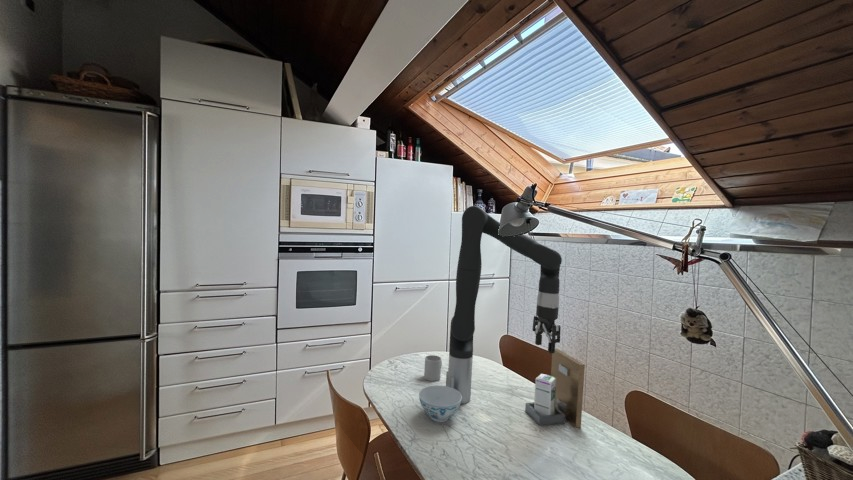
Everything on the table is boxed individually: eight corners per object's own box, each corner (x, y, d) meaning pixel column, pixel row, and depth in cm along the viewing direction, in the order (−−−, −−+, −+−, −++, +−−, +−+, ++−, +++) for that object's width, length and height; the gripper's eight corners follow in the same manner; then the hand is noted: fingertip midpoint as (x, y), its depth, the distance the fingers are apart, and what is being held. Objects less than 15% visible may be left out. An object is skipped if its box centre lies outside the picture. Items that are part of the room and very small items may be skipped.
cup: (420, 378, 150) (421, 358, 150) (434, 371, 158) (435, 352, 158) (433, 383, 145) (435, 362, 145) (446, 376, 153) (448, 356, 153)
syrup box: (549, 423, 119) (552, 382, 118) (532, 417, 122) (535, 377, 122) (554, 417, 123) (557, 377, 123) (538, 411, 127) (540, 372, 126)
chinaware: (433, 434, 109) (435, 410, 109) (409, 412, 121) (411, 390, 121) (469, 421, 117) (470, 399, 117) (443, 402, 130) (444, 382, 129)
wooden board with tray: (544, 431, 114) (548, 366, 113) (521, 406, 129) (524, 349, 129) (580, 428, 117) (584, 364, 116) (553, 404, 132) (557, 348, 132)
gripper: (528, 300, 129) (525, 342, 130) (549, 309, 115) (546, 356, 116) (546, 300, 131) (543, 342, 131) (568, 309, 117) (565, 355, 117)
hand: (544, 348), depth 124 cm, fingers open, 8 cm apart
